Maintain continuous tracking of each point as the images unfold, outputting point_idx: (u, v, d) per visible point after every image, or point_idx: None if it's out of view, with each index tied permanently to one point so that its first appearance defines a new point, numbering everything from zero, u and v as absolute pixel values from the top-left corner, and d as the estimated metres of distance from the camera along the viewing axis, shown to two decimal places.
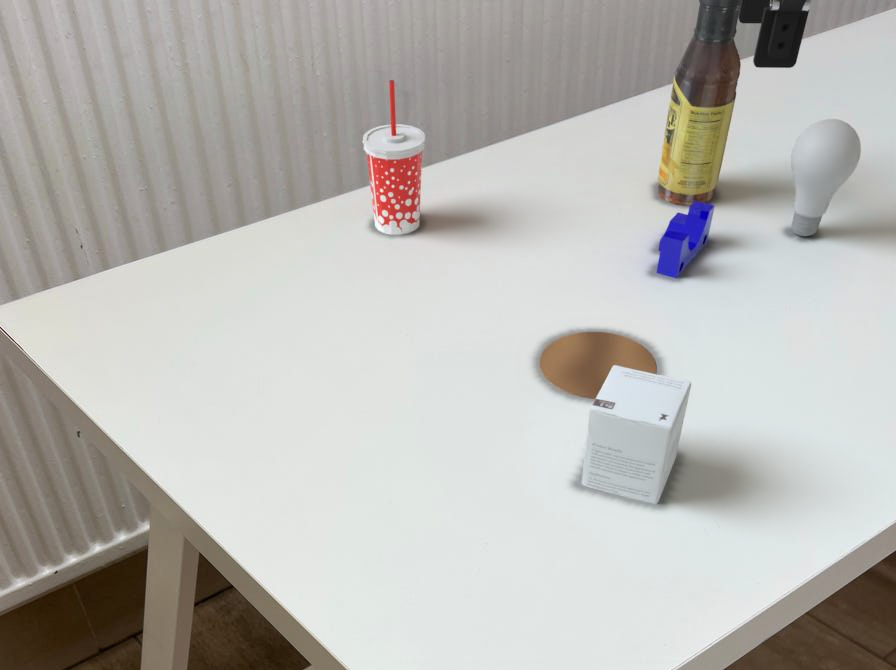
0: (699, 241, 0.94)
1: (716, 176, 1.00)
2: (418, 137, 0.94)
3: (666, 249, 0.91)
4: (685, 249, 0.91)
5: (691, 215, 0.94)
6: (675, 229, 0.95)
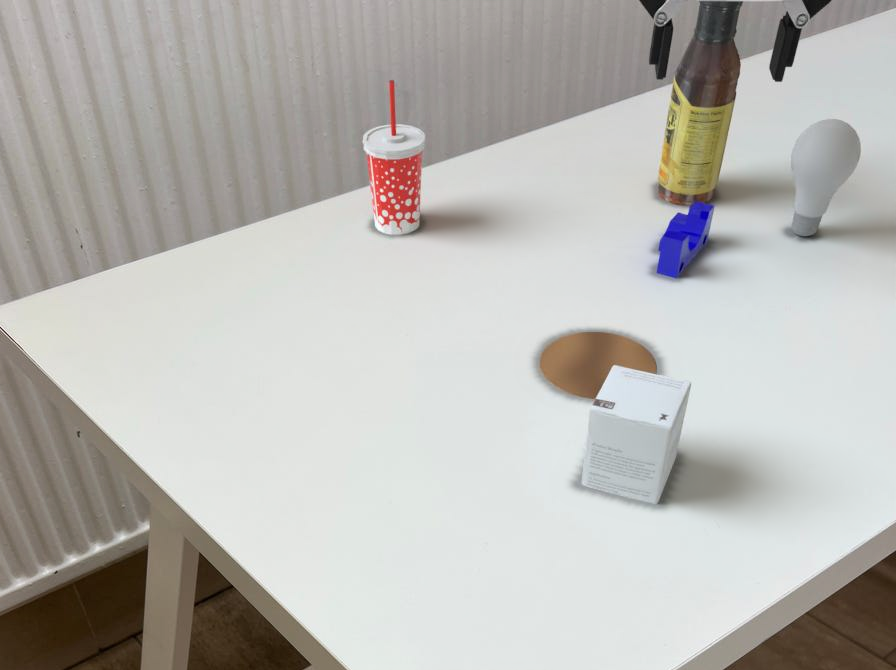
0: (699, 241, 0.94)
1: (716, 176, 1.00)
2: (418, 137, 0.94)
3: (666, 249, 0.91)
4: (685, 249, 0.91)
5: (691, 215, 0.94)
6: (675, 229, 0.95)
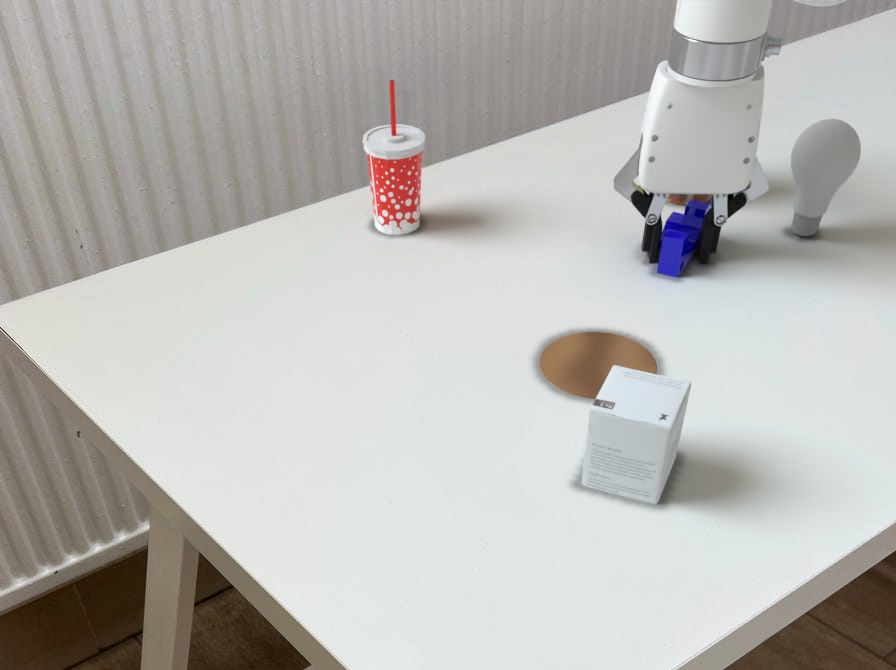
0: (696, 240, 0.95)
1: None
2: (418, 137, 0.94)
3: (666, 249, 0.91)
4: (685, 248, 0.91)
5: (688, 214, 0.94)
6: (672, 228, 0.95)
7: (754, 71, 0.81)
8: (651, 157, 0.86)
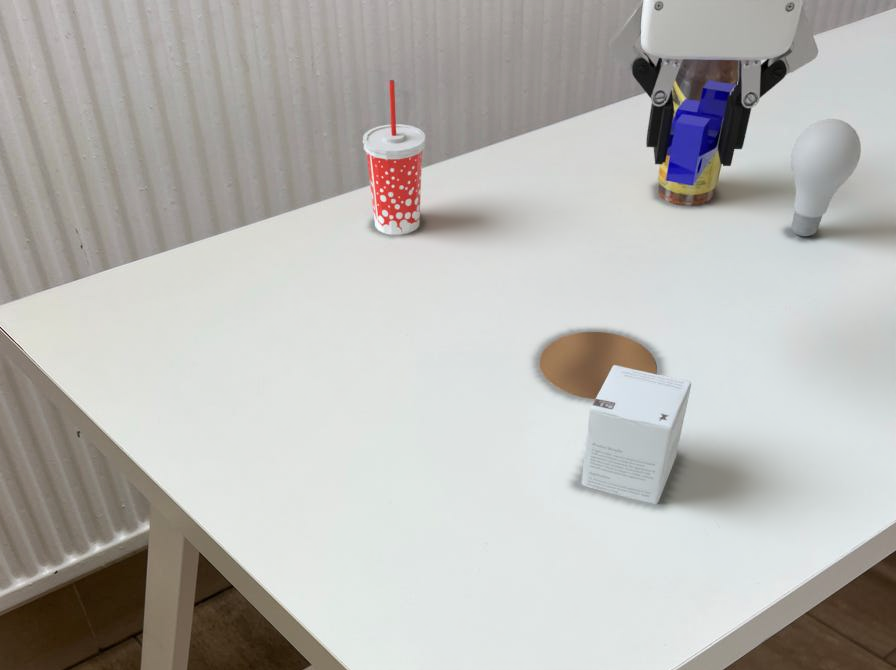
0: (718, 133, 0.71)
1: (716, 176, 1.00)
2: (418, 137, 0.94)
3: (680, 140, 0.68)
4: (705, 140, 0.68)
5: (706, 98, 0.71)
6: None
7: None
8: (658, 3, 0.63)
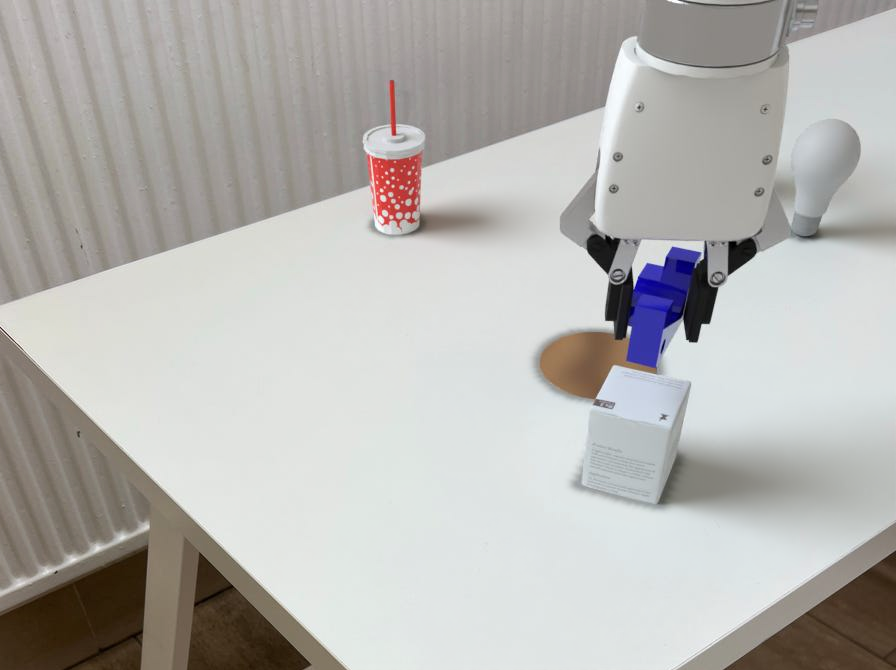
0: (683, 305, 0.65)
1: None
2: (418, 137, 0.94)
3: (641, 323, 0.61)
4: (668, 321, 0.61)
5: (669, 268, 0.64)
6: (646, 289, 0.65)
7: (774, 52, 0.50)
8: (613, 186, 0.56)
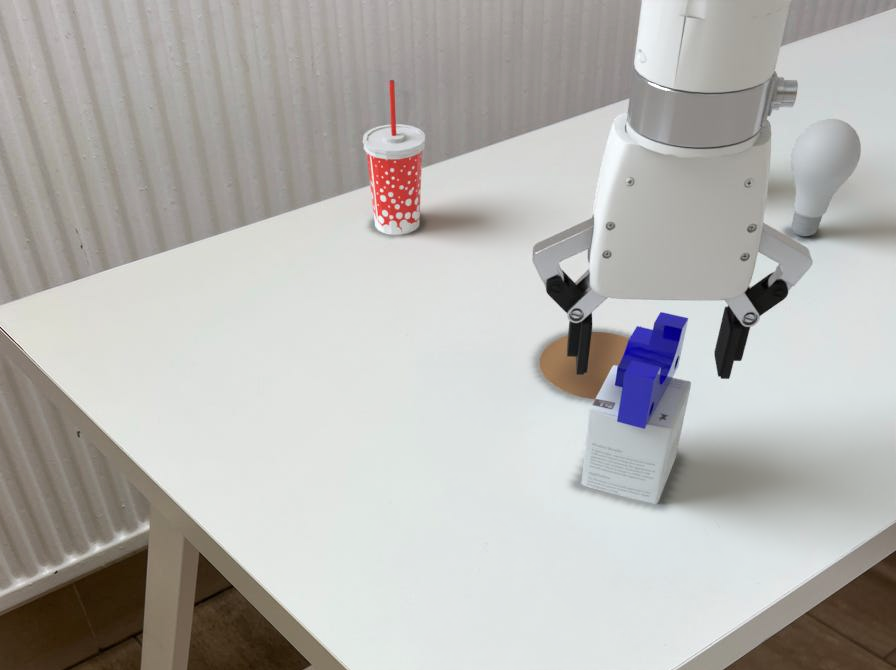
0: (671, 367, 0.68)
1: None
2: (418, 137, 0.94)
3: (630, 388, 0.65)
4: (656, 386, 0.65)
5: (658, 332, 0.68)
6: (636, 352, 0.69)
7: (756, 132, 0.53)
8: (606, 252, 0.59)
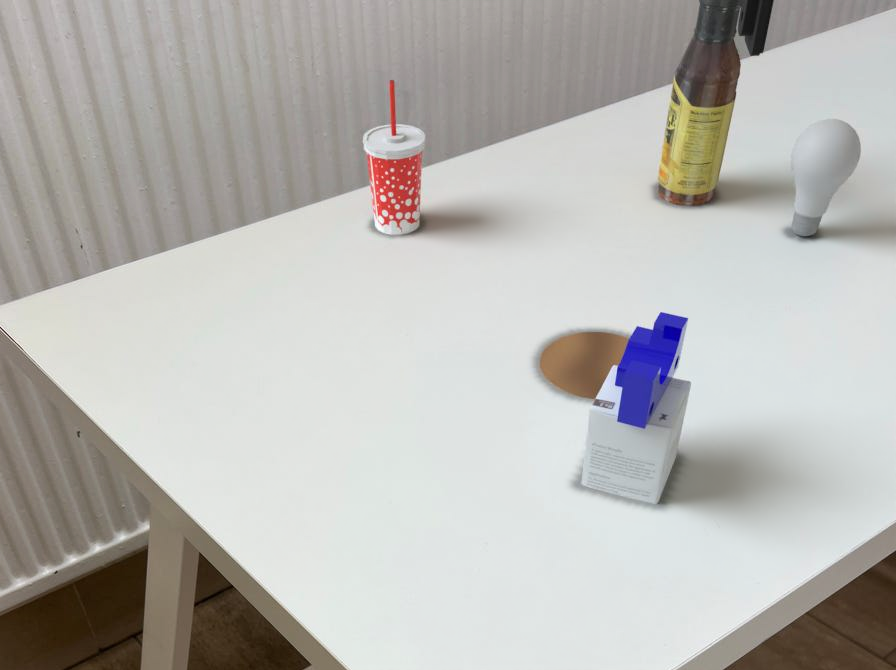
0: (671, 367, 0.68)
1: (716, 176, 1.00)
2: (418, 137, 0.94)
3: (630, 388, 0.65)
4: (656, 386, 0.65)
5: (658, 332, 0.68)
6: (636, 352, 0.69)
7: None
8: None
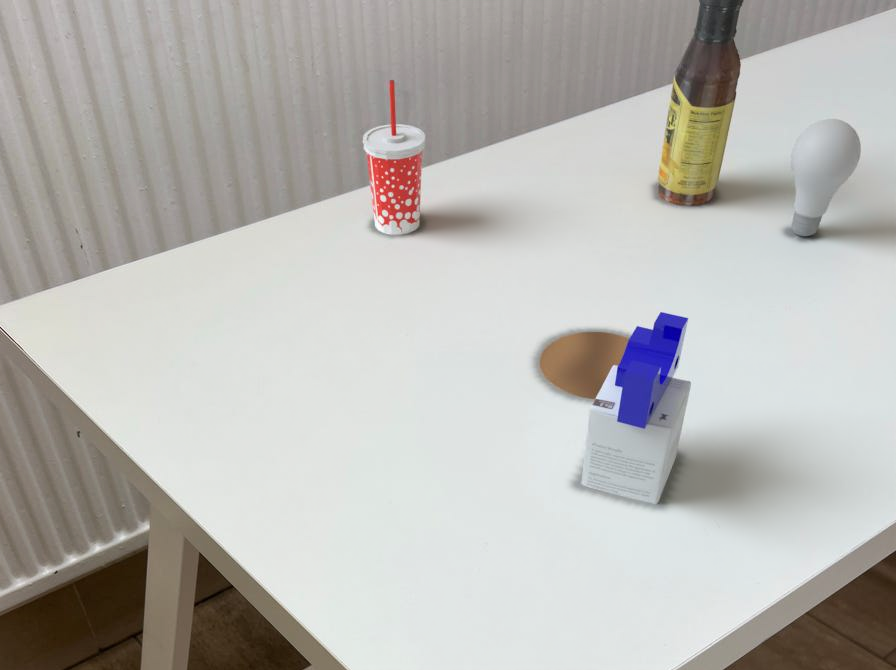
0: (671, 367, 0.68)
1: (716, 176, 1.00)
2: (418, 137, 0.94)
3: (630, 388, 0.65)
4: (656, 386, 0.65)
5: (658, 332, 0.68)
6: (636, 351, 0.69)
7: None
8: None
